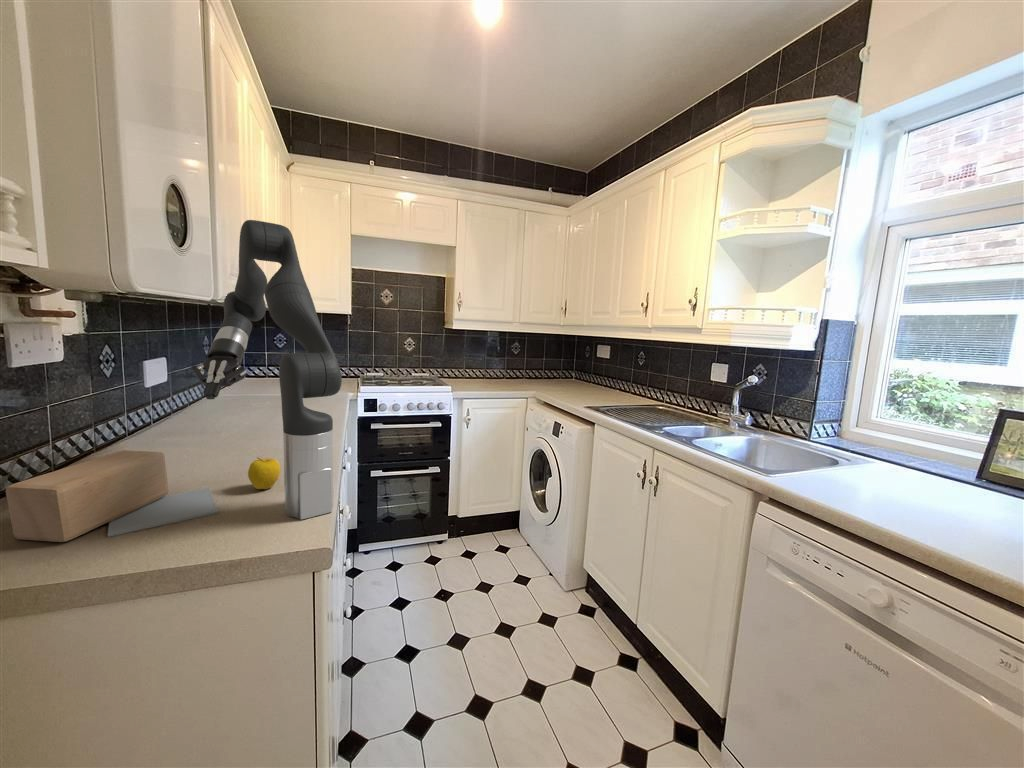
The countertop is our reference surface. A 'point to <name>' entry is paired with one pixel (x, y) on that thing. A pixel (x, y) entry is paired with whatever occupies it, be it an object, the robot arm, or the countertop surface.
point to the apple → (264, 473)
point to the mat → (165, 511)
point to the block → (85, 495)
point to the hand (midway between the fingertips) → (209, 397)
